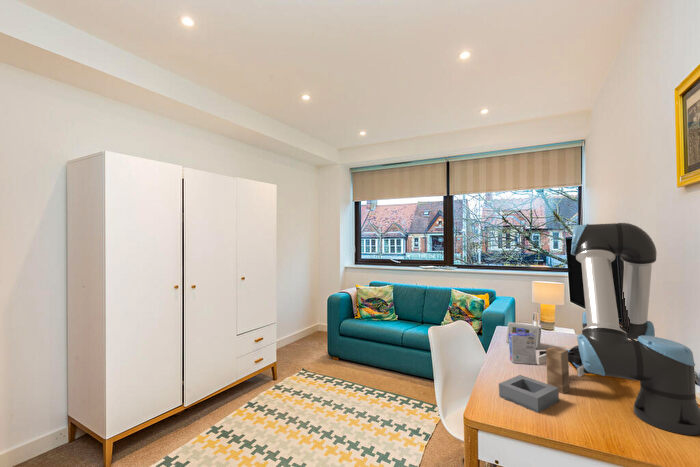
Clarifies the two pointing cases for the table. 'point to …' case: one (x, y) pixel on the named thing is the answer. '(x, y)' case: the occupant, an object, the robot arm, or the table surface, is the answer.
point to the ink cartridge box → (522, 347)
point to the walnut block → (557, 368)
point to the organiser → (529, 393)
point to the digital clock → (528, 329)
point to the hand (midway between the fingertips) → (556, 366)
